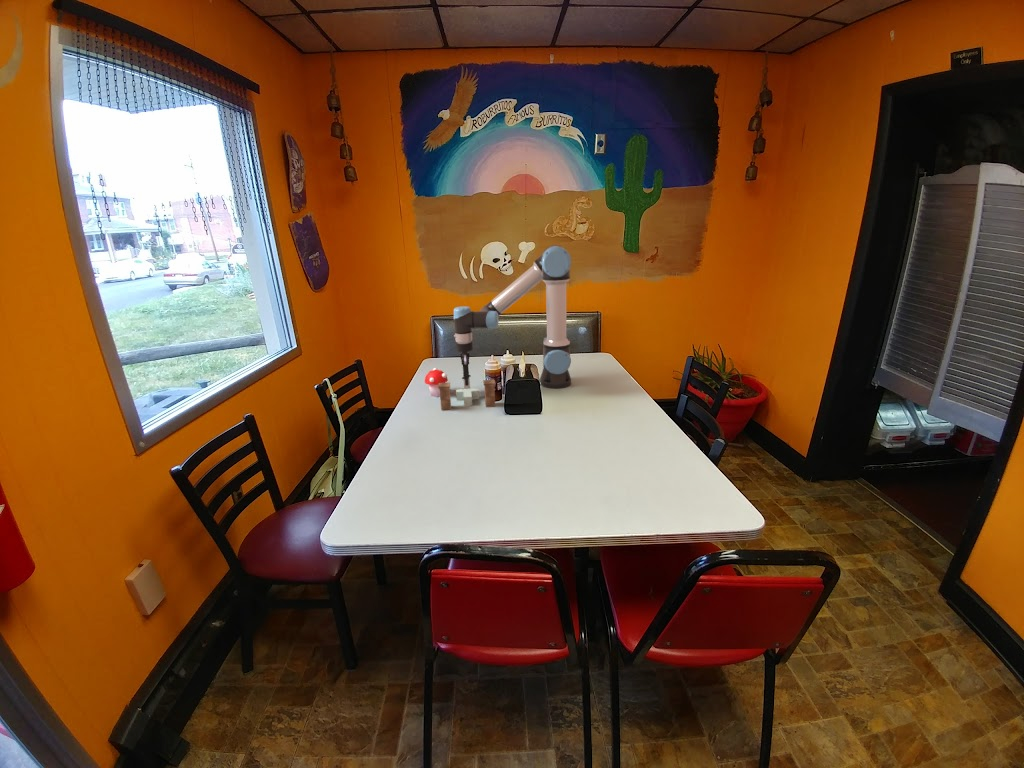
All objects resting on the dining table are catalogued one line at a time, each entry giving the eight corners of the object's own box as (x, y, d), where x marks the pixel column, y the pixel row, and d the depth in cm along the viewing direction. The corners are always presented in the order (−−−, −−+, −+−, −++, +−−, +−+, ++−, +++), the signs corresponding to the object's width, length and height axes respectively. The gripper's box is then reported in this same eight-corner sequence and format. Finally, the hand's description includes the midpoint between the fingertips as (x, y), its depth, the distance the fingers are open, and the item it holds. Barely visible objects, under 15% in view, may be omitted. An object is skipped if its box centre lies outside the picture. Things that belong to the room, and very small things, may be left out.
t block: (478, 396, 204) (478, 388, 203) (479, 404, 194) (479, 396, 193) (456, 397, 203) (456, 389, 202) (456, 406, 193) (456, 397, 192)
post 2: (495, 402, 196) (494, 379, 192) (496, 406, 191) (495, 383, 188) (484, 403, 195) (483, 380, 192) (485, 407, 191) (483, 383, 187)
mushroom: (447, 398, 203) (445, 373, 199) (423, 398, 203) (420, 373, 199) (450, 390, 213) (448, 366, 209) (428, 390, 213) (425, 366, 209)
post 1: (451, 405, 194) (450, 382, 190) (451, 409, 189) (449, 386, 186) (440, 406, 194) (438, 383, 190) (440, 410, 189) (438, 386, 185)
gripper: (455, 338, 204) (459, 386, 212) (455, 345, 192) (459, 396, 200) (472, 337, 205) (474, 385, 213) (472, 344, 193) (475, 395, 201)
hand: (467, 391), depth 207 cm, fingers closed
